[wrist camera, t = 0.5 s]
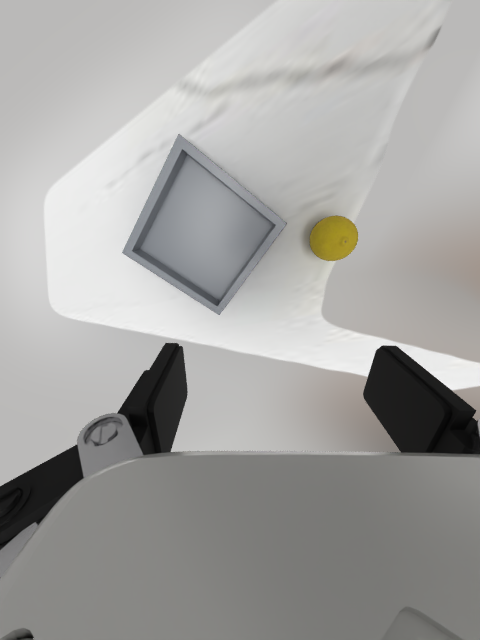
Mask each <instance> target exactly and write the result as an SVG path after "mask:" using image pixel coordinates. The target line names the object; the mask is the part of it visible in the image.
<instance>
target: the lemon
mask: <svg viewBox="0 0 480 640" xmlns="http://www.w3.org/2000/svg"><path fill="white" fill-rule="evenodd" d="M357 241H358V232H357V228H356V226H355V225H354V224H353V223H352V222H351V221H350V220H349V219H347V218H345V217H342V216H330V217H327V218H324V219H323V220H321V221H320V222H318V223H317V224H316V225H315V227H314V228H313V230H312V232H311V235H310V247H311V249H312V251H313V253H314V254H315V255H316V256H317V257H319V258H321V259H323V260H327V261H336V260H340V259H343V258H345V257H346V256H348V255H349V254H350V253H351V252H352V251H353V250H354V248H355V246H356V245H357Z"/></svg>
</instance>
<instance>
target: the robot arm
mask: <svg viewBox="0 0 480 640" xmlns="http://www.w3.org/2000/svg"><path fill="white" fill-rule="evenodd" d="M363 395H364V399H365V400H366V402H367V404H368V405H369V406H370V408H371V409H372V411H373V412H374V414H375V415H376V416H377V418H378V420H379V421H380V422H381V424H382V425H383V427H384V428H385V429H386V431H387V433H388V434H389V435H390V437H391V438H392V440H393V441H394V443H395V444H396V446H397V447H398V448H399V450H400V451H401V453H398V452H397V453H396V452H316V451H315V452H314V451H312V452H311V451H304V452H303V451H192V452H191V451H188V452H171V448H172V445H173V441H174V438H175V435H176V432H177V428H178V425H179V421H180V418H181V415H182V412H183V408H184V405H185V402H186V399H187V382H186V372H185V363H184V354H183V347H182V346H179V344H177V343H166V344H165V345H164V346H163V348H162V350H161V351H160V353H159V355H158V357H157V358H156V360H155V361H154V363H153V365H152V366H151V368H150V370H146V371H144V372H143V374H142V375H141V377H140V378H139V380H138V381H137V383H136V385H135V386H134V388H133V389H132V391H131V393H130V394H129V396H128V397H127V399H126V400H125V402H124V403H123V405H122V407H121V408H120V410H119V411H118V413H111V414H106V415H103V416H100V417H98V418H96V419H94V420H92V421H91V422H90V423H89V424H87V425H86V426H85V427H84V428H83V430H82V431H81V432H80V434H79V436H78V439H77V445H75V446H73V447H72V448H70V449H68V450H66V451H64V452H62V453H61V454H59V455H57V456H55V457H53V458H51V459H50V460H48V461H46V462H44V463H42V464H40V465H39V466H37V467H35V468H33V469H31V470H29V471H28V472H26V473H24V474H22V475H20V476H18V477H17V478H15V479H13V480H11V481H9V482H7V483H5V484H4V485H2V486H0V640H33V638H34V640H480V419H478V421H476V420H475V419H474V418H472V417H473V416H474V414H475V412H476V410H475V409H474V408H472V407H471V406H470V405H469V404H467V403H466V402H465V401H464V400H463V399H461V398H460V397H459V396H457V395H456V394H455V393H454V392H453V391H451V390H450V389H449V388H448V387H446V386H445V385H444V384H443V383H441V382H440V381H439V380H438V379H437V378H435V377H434V376H433V375H432V374H430V373H429V372H428V371H427V370H425V369H424V368H423V367H422V366H420V365H419V364H418V363H417V362H416V361H414V360H413V359H412V358H411V357H409V356H408V355H407V354H406V353H404V352H403V351H402V350H401V349H399V348H398V347H397V346H381V347H380V348H379V349H377V350H376V353H375V356H374V359H373V363H372V366H371V369H370V372H369V376H368V379H367V382H366V386H365V389H364V393H363Z"/></svg>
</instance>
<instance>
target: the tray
mask: <svg viewBox="0 0 480 640" xmlns="http://www.w3.org/2000/svg"><path fill="white" fill-rule="evenodd" d="M286 224H287V223H286V222H285V221H283V220H282V219H281V218H280V217H279V216H277V215H276V214H275V213H274V212H273V211H271V210H270V209H269V208H268V207H267V206H265V205H264V204H263V203H262V202H261V201H259V200H258V199H257V198H256V197H255V196H253V195H252V194H251V193H250V192H249V191H247V190H246V189H245V188H244V187H242V186H241V185H240V184H239V183H238V182H236V181H235V180H234V179H233V178H232V177H230V176H229V175H228V174H227V173H226V172H224V171H223V170H222V169H221V168H220V167H218V166H217V165H216V164H215V163H214V162H212V161H211V160H210V159H209V158H208V157H206V156H205V155H204V154H203V153H202V152H200V151H199V150H198V149H197V148H196V147H194V146H193V145H192V144H191V143H189V142H188V141H187V140H186V139H185V138H183V137H182V136H181V135H180V134H178V136H177V139H176V141H175V143H174V145H173V147H172V149H171V151H170V153H169V155H168V157H167V160H166V162H165V164H164V166H163V168H162V170H161V172H160V174H159V176H158V178H157V181H156V183H155V185H154V187H153V189H152V191H151V193H150V195H149V197H148V199H147V201H146V204H145V206H144V208H143V210H142V212H141V214H140V216H139V218H138V220H137V222H136V225H135V227H134V229H133V231H132V233H131V235H130V237H129V239H128V241H127V243H126V246H125V248H124V250H123V252H122V253H123V254H125V255H126V256H128V257H129V258H131V259H132V260H134V261H136V262H137V263H139V264H140V265H142V266H143V267H145V268H146V269H148V270H150V271H151V272H153V273H154V274H156V275H157V276H159V277H161V278H162V279H164V280H165V281H167V282H168V283H170V284H171V285H173V286H175V287H176V288H178V289H179V290H181V291H182V292H184V293H185V294H187V295H189V296H190V297H192V298H193V299H195V300H196V301H198V302H200V303H201V304H203V305H204V306H206V307H207V308H209V309H210V310H212V311H214V312H215V313H217V314H218V315H220V314H221V312H222V311H223V309H224V308H225V307H226V305H227V304H228V303H229V301H230V300H231V299H232V297H233V296H234V295H235V293H236V292H237V290H238V289H239V288H240V286H241V285H242V284H243V282H244V281H245V280H246V278H247V277H248V276H249V274H250V273H251V271H252V270H253V269H254V267H255V266H256V265H257V263H258V262H259V261H260V259H261V258H262V257H263V255H264V254H265V252H266V251H267V250H268V248H269V247H270V246H271V244H272V243H273V242H274V240H275V239H276V238H277V236H278V235H279V233H280V232H281V231H282V229H283V228H284V227H285V225H286Z"/></svg>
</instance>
